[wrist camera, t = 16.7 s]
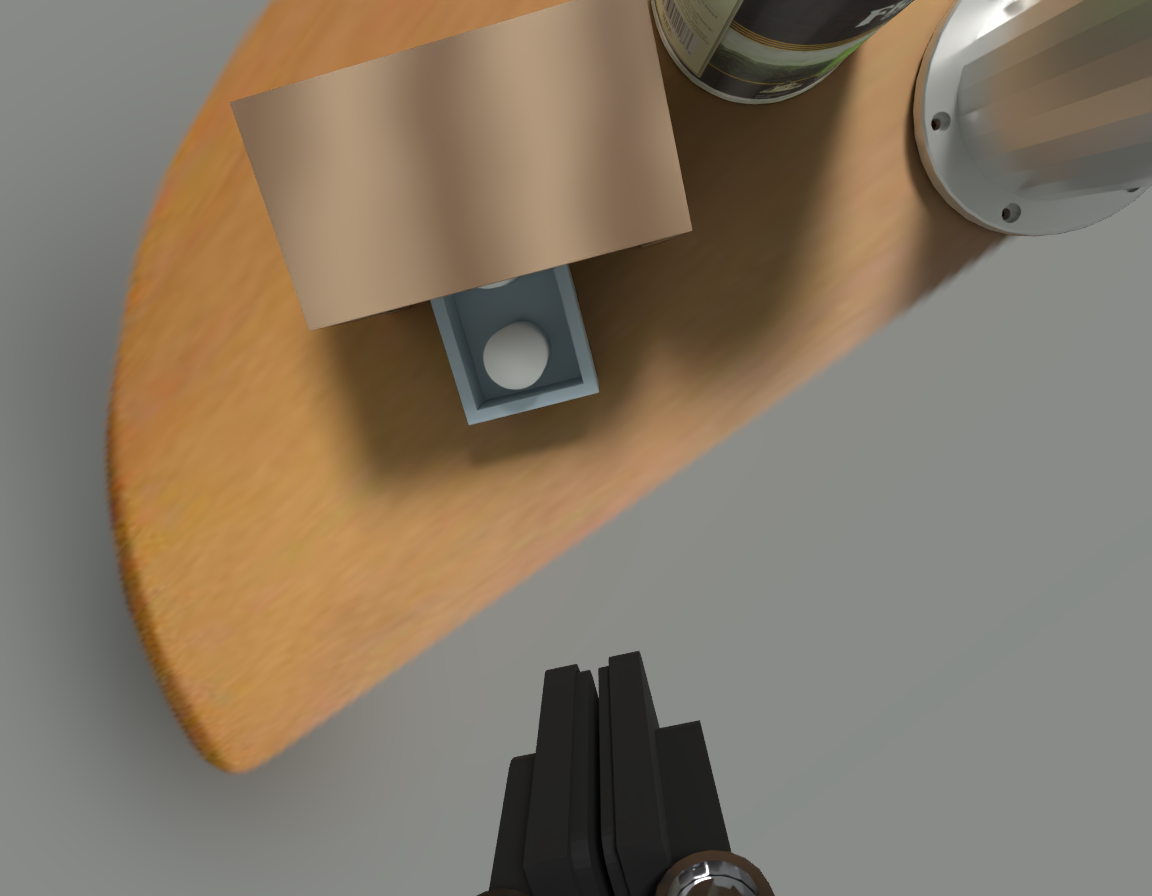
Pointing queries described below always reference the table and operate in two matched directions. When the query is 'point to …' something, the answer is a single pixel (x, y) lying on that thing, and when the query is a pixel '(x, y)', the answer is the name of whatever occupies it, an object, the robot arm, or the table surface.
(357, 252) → the wooden footstool
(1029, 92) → the robot arm
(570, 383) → the tray
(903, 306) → the table surface
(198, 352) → the table surface
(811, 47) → the coffee can
